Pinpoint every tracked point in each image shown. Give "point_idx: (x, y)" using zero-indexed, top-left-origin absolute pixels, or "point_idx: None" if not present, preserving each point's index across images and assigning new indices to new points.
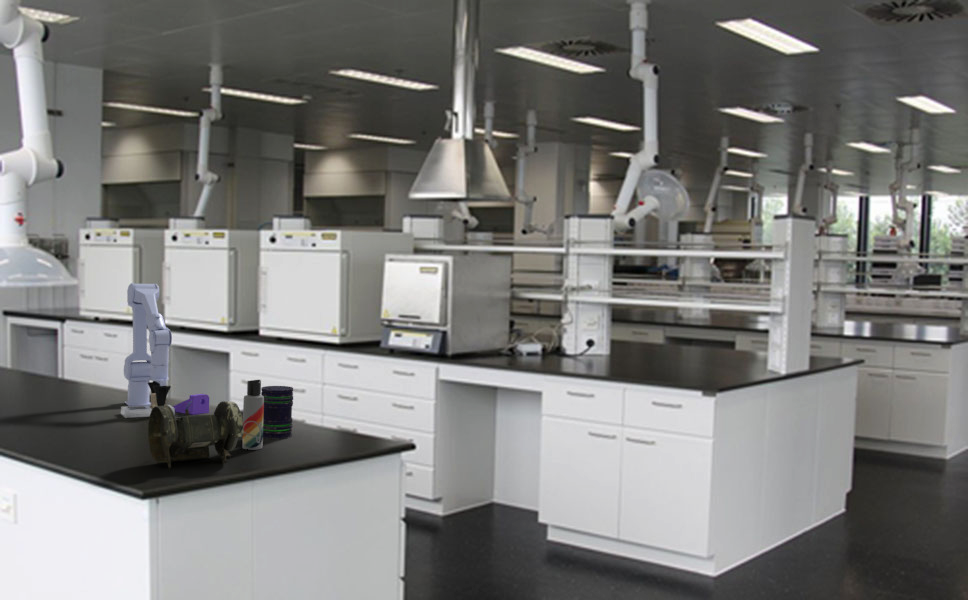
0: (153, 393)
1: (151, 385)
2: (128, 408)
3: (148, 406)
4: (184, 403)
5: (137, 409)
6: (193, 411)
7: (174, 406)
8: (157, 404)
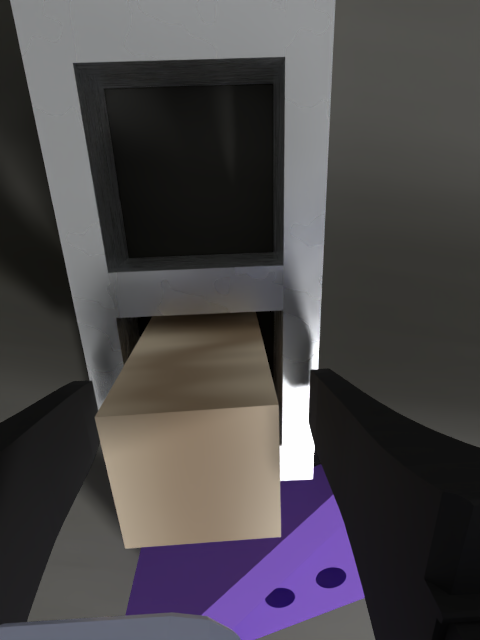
0: (270, 430)
1: (412, 507)
2: (159, 55)
3: (259, 305)
4: (218, 576)
5: (65, 160)
6: (138, 565)
7: (325, 495)
8: (65, 386)
